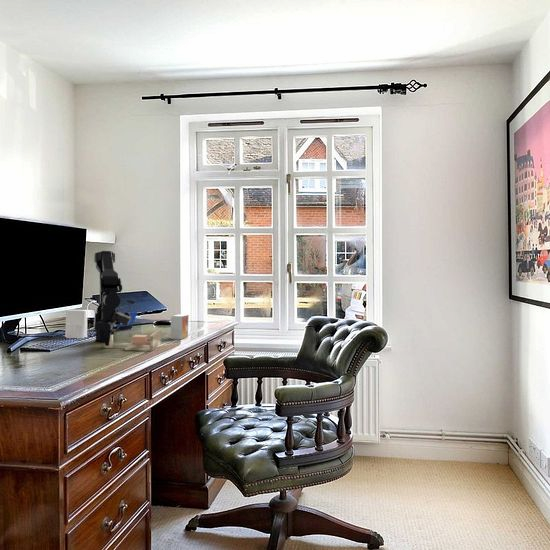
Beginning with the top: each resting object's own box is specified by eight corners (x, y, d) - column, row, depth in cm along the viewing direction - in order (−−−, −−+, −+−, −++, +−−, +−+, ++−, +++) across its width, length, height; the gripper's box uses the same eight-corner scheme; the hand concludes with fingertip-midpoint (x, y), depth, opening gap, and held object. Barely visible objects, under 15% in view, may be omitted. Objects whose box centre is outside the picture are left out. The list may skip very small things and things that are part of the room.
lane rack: (125, 350, 199) (125, 334, 199) (135, 342, 216) (136, 328, 216) (152, 350, 200) (153, 335, 199) (160, 343, 217) (161, 329, 217)
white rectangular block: (90, 336, 231) (91, 309, 230) (81, 339, 222) (81, 311, 221) (71, 335, 232) (72, 308, 231) (61, 338, 223) (61, 310, 222)
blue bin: (120, 327, 264) (121, 309, 263) (137, 330, 256) (138, 311, 256) (94, 329, 251) (95, 311, 251) (111, 333, 243) (112, 313, 243)
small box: (181, 339, 229) (182, 316, 229) (170, 338, 230) (170, 315, 230) (188, 337, 237) (188, 314, 236) (176, 336, 238) (177, 314, 238)
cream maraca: (102, 348, 201) (103, 335, 201) (106, 346, 206) (106, 334, 206) (144, 349, 202) (144, 337, 201) (147, 347, 207) (147, 335, 206)
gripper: (123, 309, 194) (123, 349, 194) (135, 304, 213) (134, 341, 213) (94, 308, 193) (93, 349, 194) (108, 303, 212) (107, 341, 213)
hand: (108, 345), depth 203 cm, fingers closed on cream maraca, 3 cm apart
